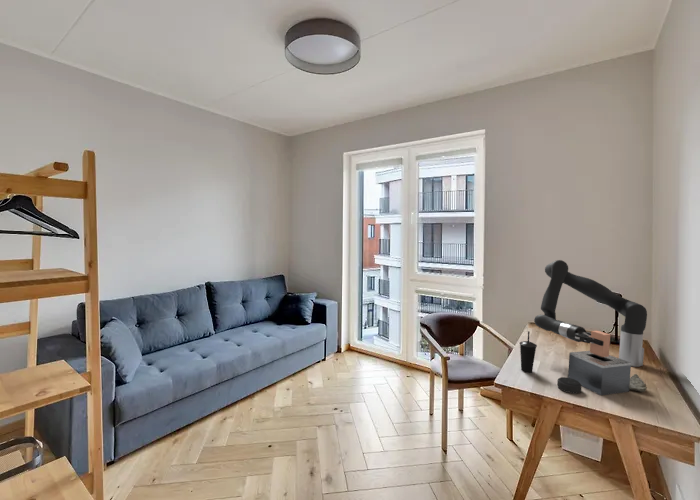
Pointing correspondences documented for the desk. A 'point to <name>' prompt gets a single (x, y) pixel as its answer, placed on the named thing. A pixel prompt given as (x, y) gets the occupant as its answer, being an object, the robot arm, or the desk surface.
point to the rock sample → (637, 384)
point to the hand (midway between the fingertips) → (606, 343)
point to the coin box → (600, 372)
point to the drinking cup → (527, 355)
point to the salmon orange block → (598, 349)
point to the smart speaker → (569, 385)
